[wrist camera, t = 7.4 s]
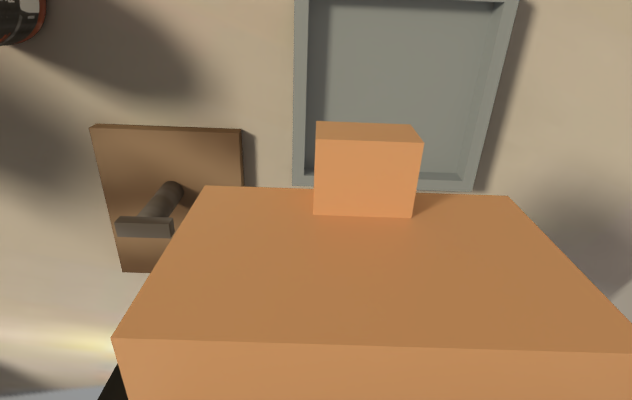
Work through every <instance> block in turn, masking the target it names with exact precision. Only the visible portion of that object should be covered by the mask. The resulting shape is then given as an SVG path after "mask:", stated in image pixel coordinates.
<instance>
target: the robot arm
mask: <svg viewBox="0 0 632 400" xmlns="http://www.w3.org/2000/svg"><path fill="white" fill-rule="evenodd" d="M98 400H128V396H127V393H126V390H125V386H124V383H123V379H122V376H121V372H120V369H119V365H118V364H117V365H116V367H115V369H114V371H113V373H112V374H111V376H110V378H109V380H108V382H107V383H106V385H105V387H104V389H103V391H102V393H101V394H100V396H99V398H98Z"/></svg>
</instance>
